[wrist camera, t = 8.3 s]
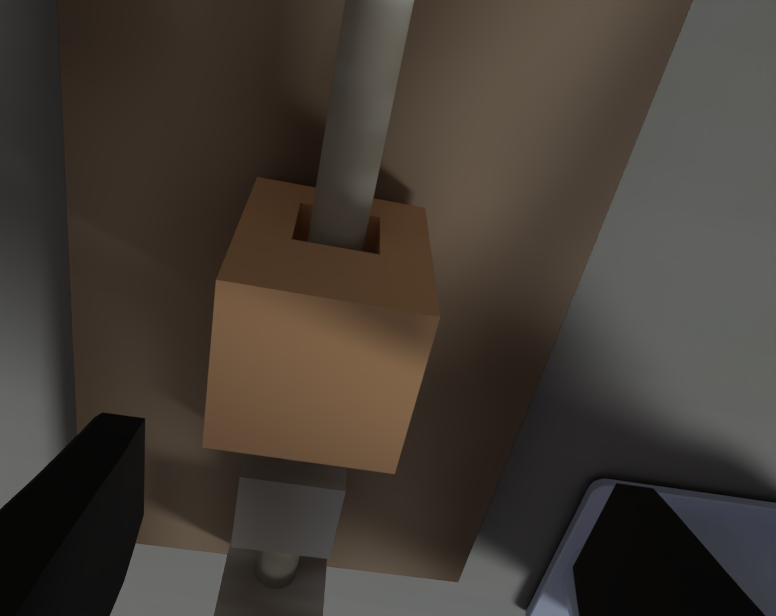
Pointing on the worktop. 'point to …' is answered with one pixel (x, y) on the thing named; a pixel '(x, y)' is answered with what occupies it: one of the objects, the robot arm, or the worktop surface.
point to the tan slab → (339, 239)
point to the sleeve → (319, 334)
